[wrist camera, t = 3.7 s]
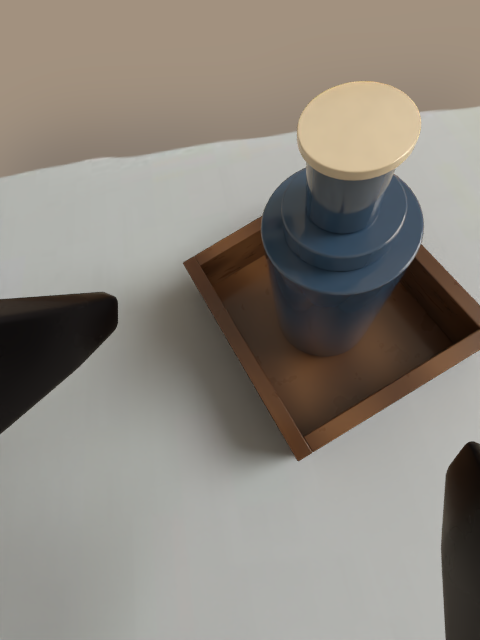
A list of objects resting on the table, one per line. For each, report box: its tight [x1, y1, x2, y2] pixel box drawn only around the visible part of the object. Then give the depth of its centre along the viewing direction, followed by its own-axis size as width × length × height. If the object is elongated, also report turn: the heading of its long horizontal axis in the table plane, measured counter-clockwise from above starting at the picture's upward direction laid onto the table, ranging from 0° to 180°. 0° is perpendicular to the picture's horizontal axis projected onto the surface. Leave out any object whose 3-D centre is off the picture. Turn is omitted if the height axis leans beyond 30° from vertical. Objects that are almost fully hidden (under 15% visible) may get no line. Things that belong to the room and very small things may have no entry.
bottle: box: [261, 81, 424, 357], centre depth 14 cm, size 6×6×14 cm
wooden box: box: [183, 216, 480, 461], centre depth 20 cm, size 12×13×4 cm
